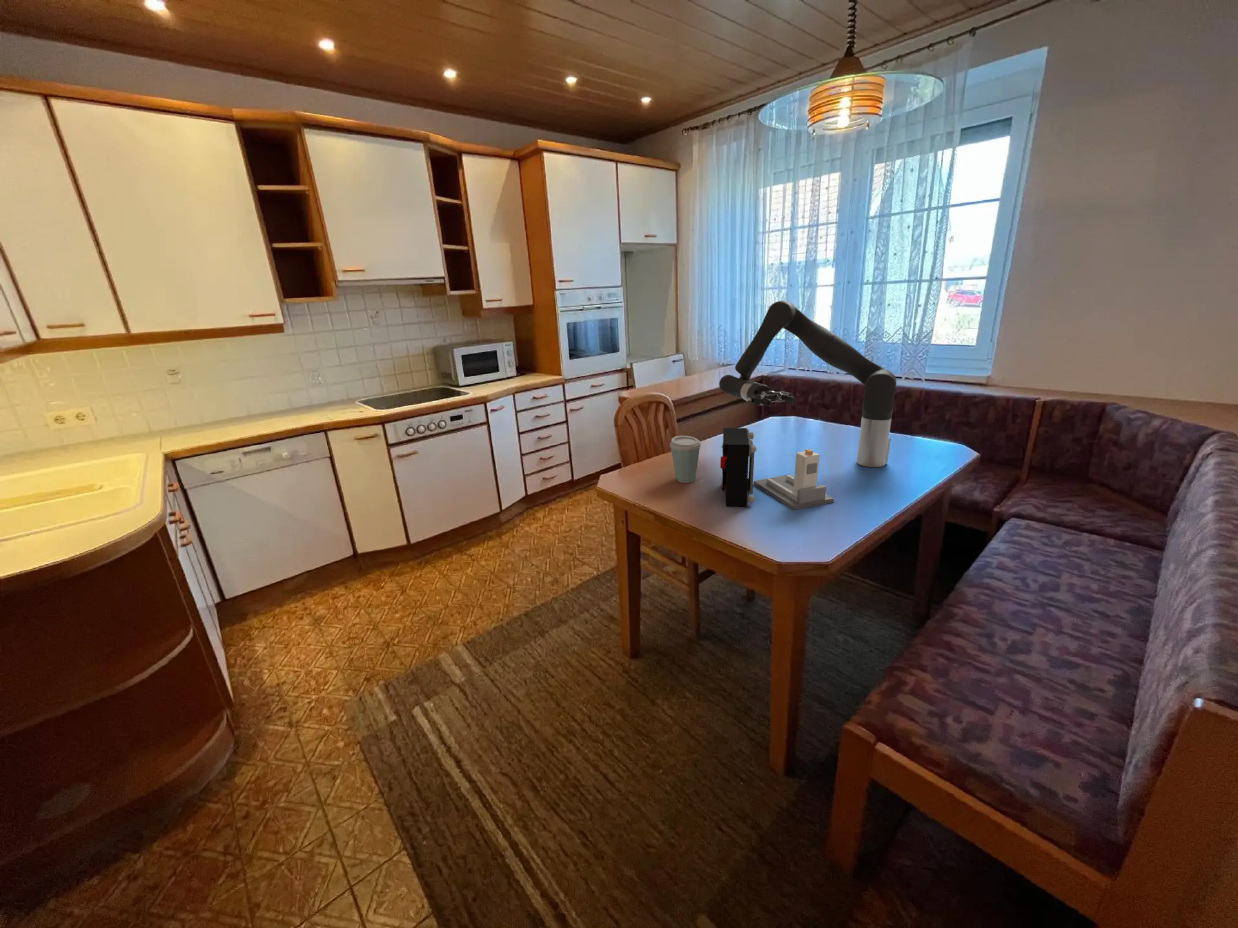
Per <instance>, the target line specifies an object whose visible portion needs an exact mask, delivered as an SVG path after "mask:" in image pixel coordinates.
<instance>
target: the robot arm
mask: <svg viewBox="0 0 1238 928" xmlns="http://www.w3.org/2000/svg"><path fill="white" fill-rule="evenodd" d="M782 329H784V330H786V331H787V332H789V333H791V334H792V335H794V336H795V337H797V338H798V339H799V340H800V341H801V342H802V343H803V344H804V345H805V346H806V347H807V349H808V350H810V352H812V353H813V355H815V356H816V357H818V358H819V359H820V360H822V361H824V363H826V364H827V365H829V366H831V367H832V368H836V370H840V371H842V372H845V373H847V374H849V375H850V376H852V377H854V378H855V379H856V380H858V382H860V383H861V384H862V385H863V386H864V389H863V390H864V391H863V399H862V414H861V421H860V430H859V439H858V446H857V447H858V449H857V453H856V454H857V457H856V464H858V465H859V466H862V467H867V468H881V467H884V466H885V465H888V462H889V461H888V460H889V454H890V447H891V438H890V431H891V424H892V423H891V422H892V417H893V410H894V402H895V396H896V395H895V394H896V389H897V378H896V375H895V374H894V373H893V372H892V371H890V370H888V369H886V368H884V367H882V366H881V365H878V364H877V363H875V362H873V361H871V360H869V359H868V358H867V357H865V356H864V355H863V354H862V353H861V352H859V351H858V350H857V349H856V348H855V347H853V346H852V345H851V344H849V342H847V341H846V340H844V339H843V338H841V337H840V336H838V335H837V334H836V333H834V332H832V331H831V330H829V329H828V328H826V327H825V326H823V325H821V324H819V323H817V322H816V321H813V320H812V319H810V317H808V316H807V315H805V314H804V312H802V311H801V310H800V309H798V307H797V306H795V305H794V304H793V302H790V301H789V300H788V301H787V300H778V301H775V302H774V303H772V304H771V305H770V306H769V307H768V309H767V311H766V314H765V316H764V318H763V320H762V323H761V324H760V327H759V328H758V330H757V332H756V334H755V335H754V337H753V339H752V340H751V341H750V343H749V345H748V346H747V348H746V349H745V350H744V352H743V354H742V355H741V356H740V358H739V360H738V361H737V363H736V364H735V366H734V369H735V371H736V372H737V373H738V374H739V375H740V376H739V377H737V376H734V375H731V374H725V375H724V376H722V377H721V379H720V380H719V382H718V387H719V389H720V390H721V391H722V392H723V393H725V394H727V395H730V396H733V397H736V398H739V399H740V400H744V401H746V402H747V403H749V404H752V405H754V406H759V407H760V406H766V407H772V403H782V402H785V403H789V404H794V403H795V402H794V401H795V397H794V396H792V393H791V392H787V391H783V390H779V391H774V390H771V388H770V387H769V386H768V385H766V384H763V383H759V382H756V381H750V380H751V377H752V374H753V372H754V371H755V370H756V369H757V367H758V366H759V364H760V362H761V361H762V359H763V358H764V357H765V354H766V352H767V351H768V348H769V347H770V344H771V342H772V341H773V340H774V338H775V337H776V336H777V335H778V334H779V332H781V331H782Z"/></svg>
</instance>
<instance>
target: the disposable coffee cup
mask: <svg viewBox="0 0 1238 928" xmlns="http://www.w3.org/2000/svg"><path fill="white" fill-rule="evenodd" d="M669 448H670V451H671V457H672V462H673V468H674V472H675V473H674V474H675V478H676V480H677V481H678V482H680V483H682V484H688V483H689V484H690V483H692V482H694V481H695V479H696V475H697V470H698V469H697V468H698V461H699V455H700V448H701V441H700V440H699V439H698V438H696V437H694V436H690V435H676V436H674V437H672V438H671V441H670V443H669Z"/></svg>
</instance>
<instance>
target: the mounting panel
mask: <svg viewBox="0 0 1238 928" xmlns="http://www.w3.org/2000/svg"><path fill="white" fill-rule="evenodd" d="M794 477H795V476H793V475H792V474H786V475H780V476H774V477H768V478H763V479H758V480H757V479H756V480H753V486H756V487H757V488H759V489H760V490H762V491H763V492H765V493H767V494H768V495H769V496H771V497H772V498H775V499H776V501H777V500H778V501H779V502H781V503H782V504H784V505H785V506H787V507H789V508H790V509H791V510H792V511H795V510H800V509H805V508H806V509H807V508H810V507H816V506H820V505H826V504H831V503H834V501H835V500H834V499H835V498H833V497H832V496H830V495H828V494H827V486H825V485H824V484H821V485H817V486H814V487H809V488H804V489H798V492H797V494H796V493H794V492H793V490H794Z"/></svg>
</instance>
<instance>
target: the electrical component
mask: <svg viewBox="0 0 1238 928" xmlns="http://www.w3.org/2000/svg"><path fill="white" fill-rule="evenodd" d="M722 431H723V432H722V446H721V449H722V456H720V462H719V463H720V465H719V466H720V467H719V468H720V469H721V471H722V475H721V477H722V478H721V484H720V486H721V490H722V491H725V507H726V508H745V509H746V508H748V507H750V506H749V505H750V504H754V503H755V497H754V495H753V492H754V491H753V490H754V489H753V488H754V468H755V453H756V452H757V446H756V445H754V443H753V439H754V438H755V434H754V432H753V431H752V432H751V431H750V430H749V428H747V427H723V430H722Z"/></svg>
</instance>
